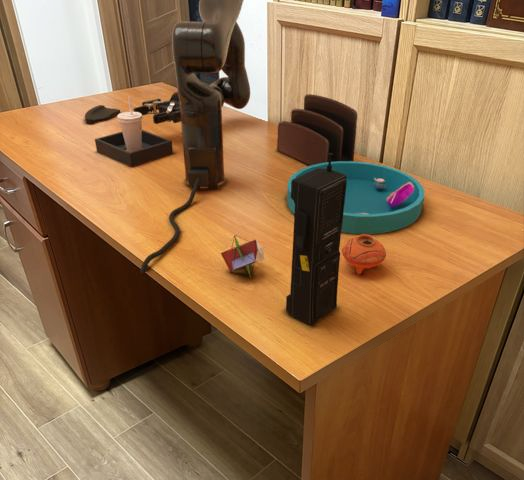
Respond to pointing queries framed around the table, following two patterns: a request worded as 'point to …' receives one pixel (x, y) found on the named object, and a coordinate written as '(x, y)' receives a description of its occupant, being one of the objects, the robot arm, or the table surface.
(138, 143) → the smoothie
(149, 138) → the dark grey rectangular frame
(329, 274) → the portable radio
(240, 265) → the geometric puzzle
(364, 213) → the round teal tray
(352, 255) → the pot
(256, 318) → the table surface
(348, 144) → the letter holder
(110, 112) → the curved wedge
